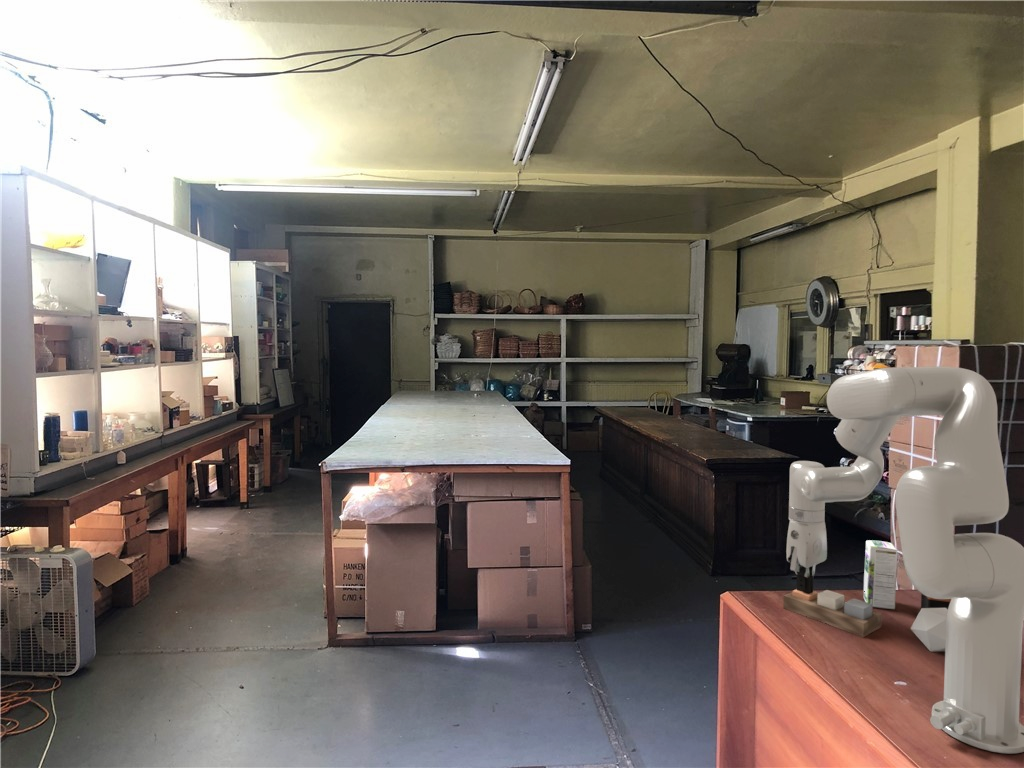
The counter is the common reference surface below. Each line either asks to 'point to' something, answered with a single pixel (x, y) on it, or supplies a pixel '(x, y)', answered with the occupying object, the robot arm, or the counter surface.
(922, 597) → the battery
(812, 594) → the peach square block
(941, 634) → the die
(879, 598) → the syrup box
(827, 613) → the button board
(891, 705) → the counter surface
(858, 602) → the grey button
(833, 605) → the cream button
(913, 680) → the counter surface
